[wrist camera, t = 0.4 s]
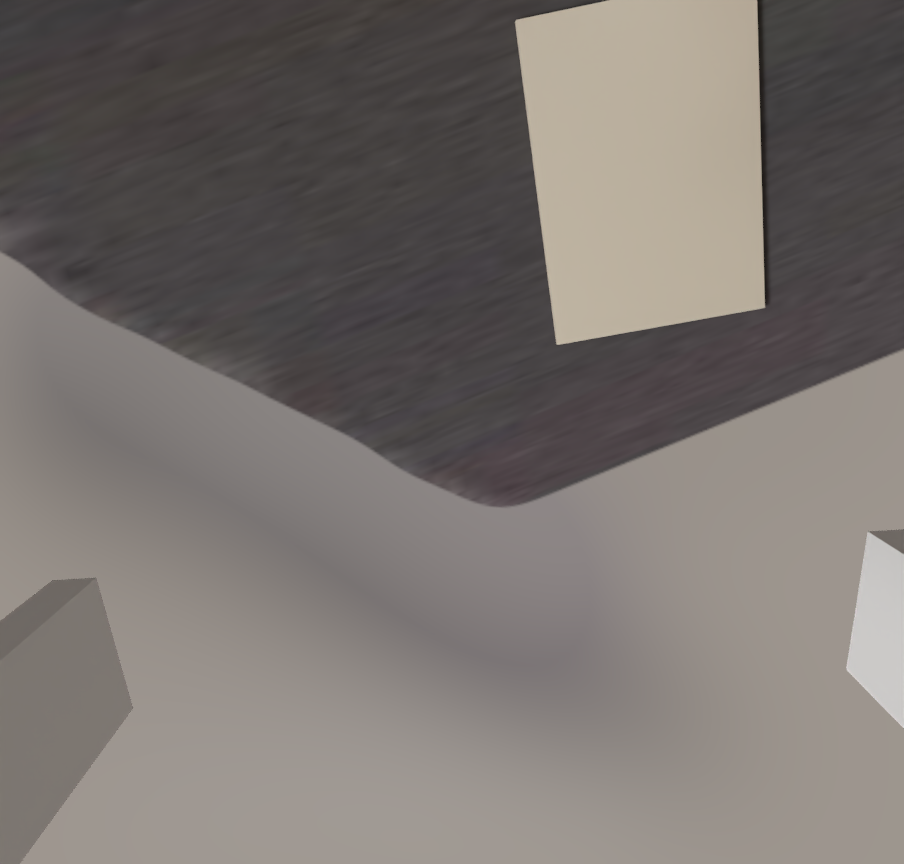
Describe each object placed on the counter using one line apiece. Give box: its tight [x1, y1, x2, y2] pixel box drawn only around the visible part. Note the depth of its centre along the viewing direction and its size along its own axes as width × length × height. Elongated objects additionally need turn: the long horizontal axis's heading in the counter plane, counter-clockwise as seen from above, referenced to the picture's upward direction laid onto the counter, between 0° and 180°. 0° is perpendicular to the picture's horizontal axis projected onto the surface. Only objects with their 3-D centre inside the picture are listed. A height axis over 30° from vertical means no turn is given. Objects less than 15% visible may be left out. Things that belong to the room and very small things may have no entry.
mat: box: [515, 0, 765, 345], centre depth 33 cm, size 18×13×1 cm
